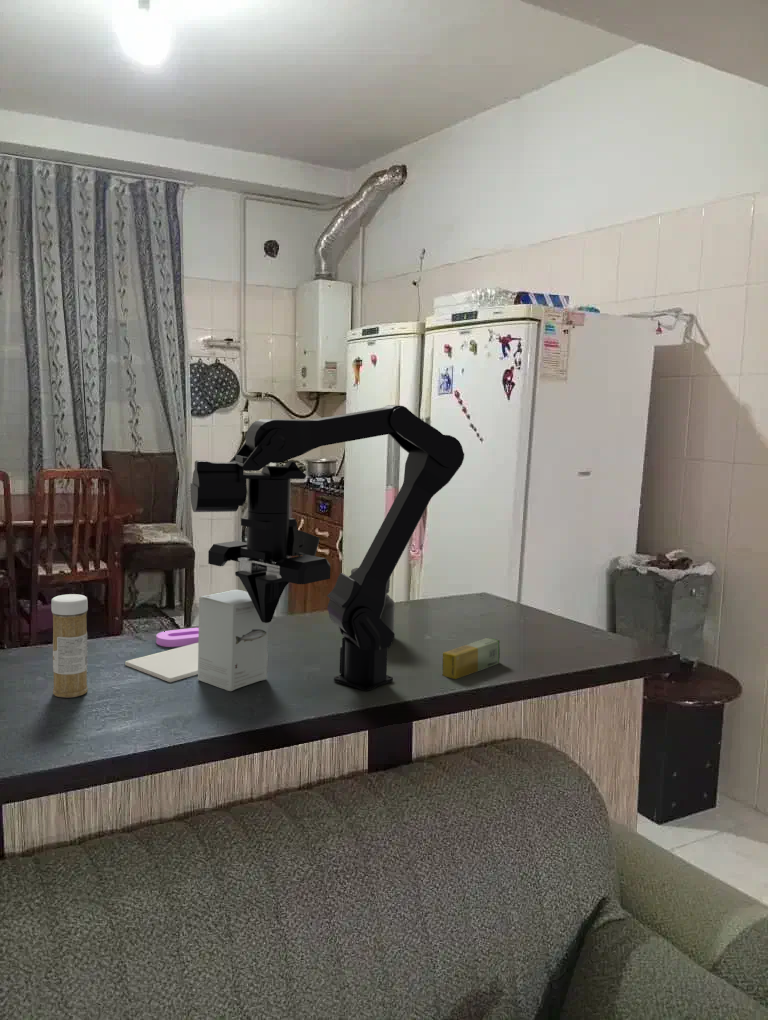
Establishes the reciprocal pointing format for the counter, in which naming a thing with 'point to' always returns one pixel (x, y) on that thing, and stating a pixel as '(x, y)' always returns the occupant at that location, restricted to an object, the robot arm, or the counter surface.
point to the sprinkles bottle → (69, 645)
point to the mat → (169, 663)
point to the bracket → (178, 637)
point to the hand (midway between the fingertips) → (266, 622)
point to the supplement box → (231, 641)
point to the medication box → (471, 658)
